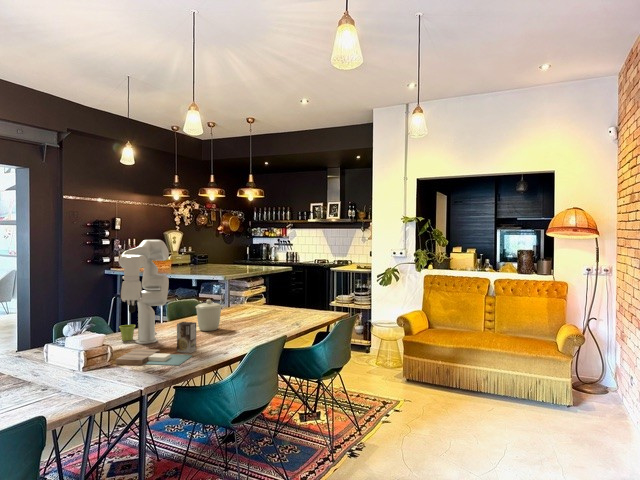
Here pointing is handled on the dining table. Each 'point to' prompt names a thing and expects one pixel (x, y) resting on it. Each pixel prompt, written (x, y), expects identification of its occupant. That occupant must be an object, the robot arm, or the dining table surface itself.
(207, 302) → the canister
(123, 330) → the plant pot
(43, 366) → the dining table surface
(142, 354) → the walnut deck
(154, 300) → the robot arm
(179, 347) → the coffee box
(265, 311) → the dining table surface
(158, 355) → the tile
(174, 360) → the teal mat
